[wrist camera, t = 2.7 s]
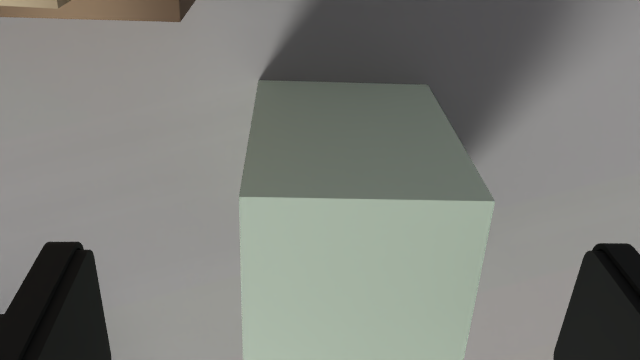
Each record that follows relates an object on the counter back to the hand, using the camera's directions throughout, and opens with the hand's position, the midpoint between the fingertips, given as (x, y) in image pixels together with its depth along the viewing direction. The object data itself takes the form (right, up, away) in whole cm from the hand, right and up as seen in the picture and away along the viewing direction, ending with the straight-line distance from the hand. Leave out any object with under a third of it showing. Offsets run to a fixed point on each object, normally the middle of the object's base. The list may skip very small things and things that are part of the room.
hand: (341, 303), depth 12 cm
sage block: (0, +3, +8) cm, 8 cm away
